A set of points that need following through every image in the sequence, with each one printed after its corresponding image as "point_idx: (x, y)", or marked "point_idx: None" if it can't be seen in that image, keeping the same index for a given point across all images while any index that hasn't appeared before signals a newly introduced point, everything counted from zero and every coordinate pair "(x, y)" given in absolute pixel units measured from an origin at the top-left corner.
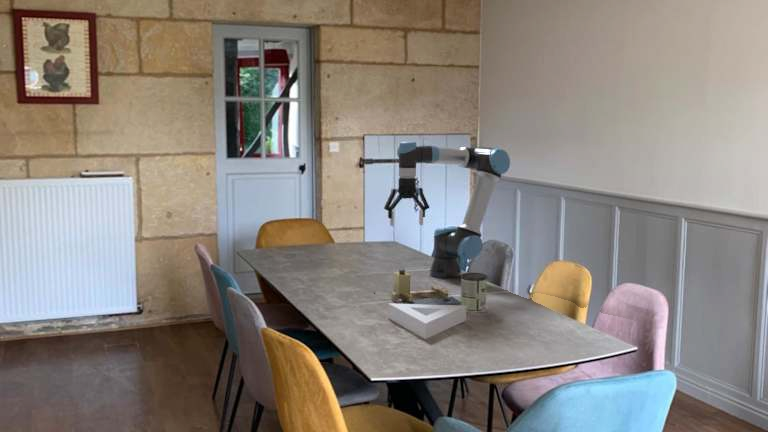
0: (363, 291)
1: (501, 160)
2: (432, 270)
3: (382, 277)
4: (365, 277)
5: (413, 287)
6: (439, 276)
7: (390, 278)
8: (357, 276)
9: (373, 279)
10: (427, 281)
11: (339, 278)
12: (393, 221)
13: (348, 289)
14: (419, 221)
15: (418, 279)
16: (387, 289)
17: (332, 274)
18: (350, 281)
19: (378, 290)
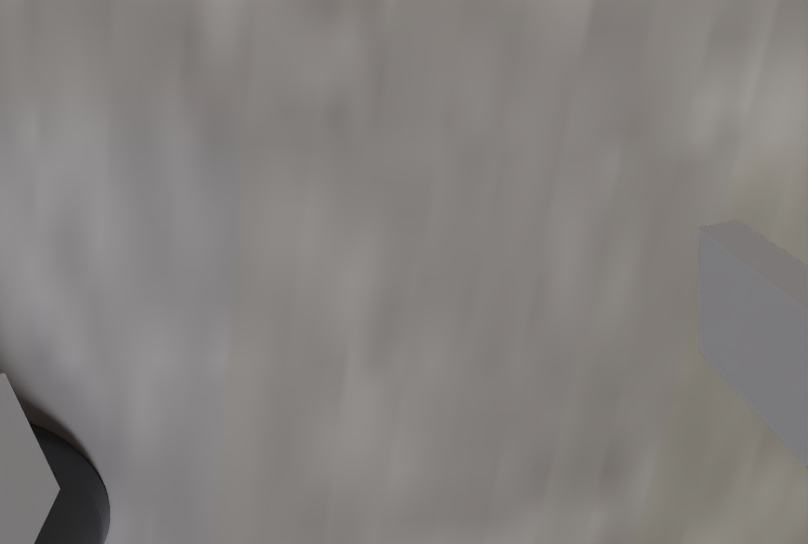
0: (684, 26)
1: None
2: (80, 500)
3: (459, 440)
4: (573, 440)
5: (266, 137)
6: (34, 431)
7: (408, 414)
8: (619, 465)
9: (531, 388)
10: (138, 325)
11: (746, 416)
12: (765, 273)
13: (777, 101)
14: (31, 522)
15: (205, 385)
16: (485, 82)
17: (759, 511)
18: (698, 337)
19: (562, 52)
